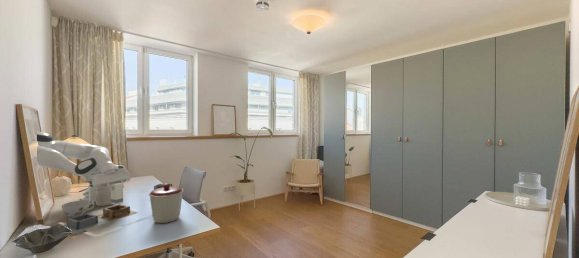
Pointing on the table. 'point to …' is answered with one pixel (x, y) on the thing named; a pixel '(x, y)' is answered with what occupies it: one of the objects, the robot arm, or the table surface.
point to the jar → (103, 196)
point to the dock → (83, 223)
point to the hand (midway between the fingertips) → (117, 188)
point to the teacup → (76, 208)
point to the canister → (166, 203)
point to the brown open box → (116, 212)
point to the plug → (117, 193)
